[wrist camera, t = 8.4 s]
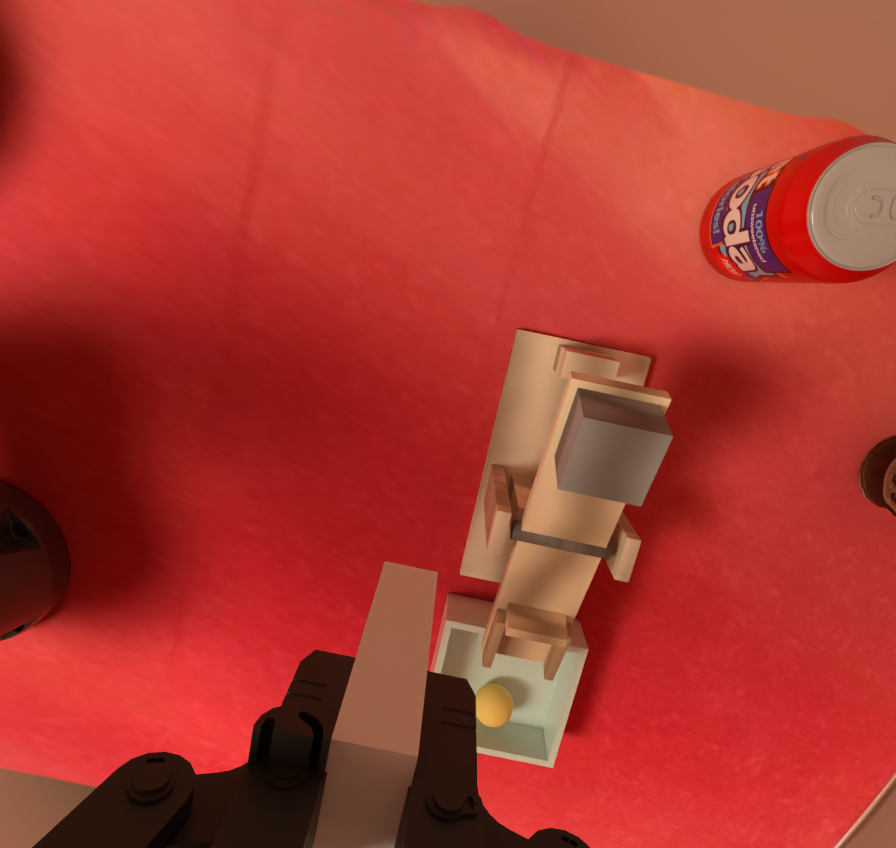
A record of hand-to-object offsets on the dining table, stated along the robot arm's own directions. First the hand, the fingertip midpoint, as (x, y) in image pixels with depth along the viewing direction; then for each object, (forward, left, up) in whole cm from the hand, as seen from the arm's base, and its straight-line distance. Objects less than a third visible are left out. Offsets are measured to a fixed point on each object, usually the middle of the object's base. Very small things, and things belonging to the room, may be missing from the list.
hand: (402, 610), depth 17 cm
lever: (+10, -7, -24) cm, 27 cm away
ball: (+10, -27, -32) cm, 43 cm away
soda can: (+20, +17, -35) cm, 43 cm away
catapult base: (+10, -5, -34) cm, 36 cm away
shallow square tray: (+10, -24, -34) cm, 43 cm away
